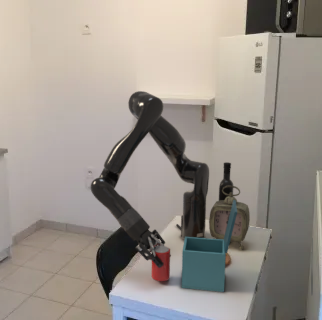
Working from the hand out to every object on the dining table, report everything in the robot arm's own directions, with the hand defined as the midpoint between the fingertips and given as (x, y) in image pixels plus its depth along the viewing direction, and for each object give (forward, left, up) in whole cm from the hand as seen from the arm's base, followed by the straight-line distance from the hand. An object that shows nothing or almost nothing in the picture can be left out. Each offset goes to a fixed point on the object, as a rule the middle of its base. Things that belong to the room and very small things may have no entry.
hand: (165, 261), depth 148 cm
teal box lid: (+12, +16, +13) cm, 24 cm away
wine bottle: (-21, +50, -8) cm, 55 cm away
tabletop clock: (-9, +40, -8) cm, 42 cm away
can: (-1, -1, -6) cm, 6 cm away
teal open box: (+7, +11, -7) cm, 15 cm away
